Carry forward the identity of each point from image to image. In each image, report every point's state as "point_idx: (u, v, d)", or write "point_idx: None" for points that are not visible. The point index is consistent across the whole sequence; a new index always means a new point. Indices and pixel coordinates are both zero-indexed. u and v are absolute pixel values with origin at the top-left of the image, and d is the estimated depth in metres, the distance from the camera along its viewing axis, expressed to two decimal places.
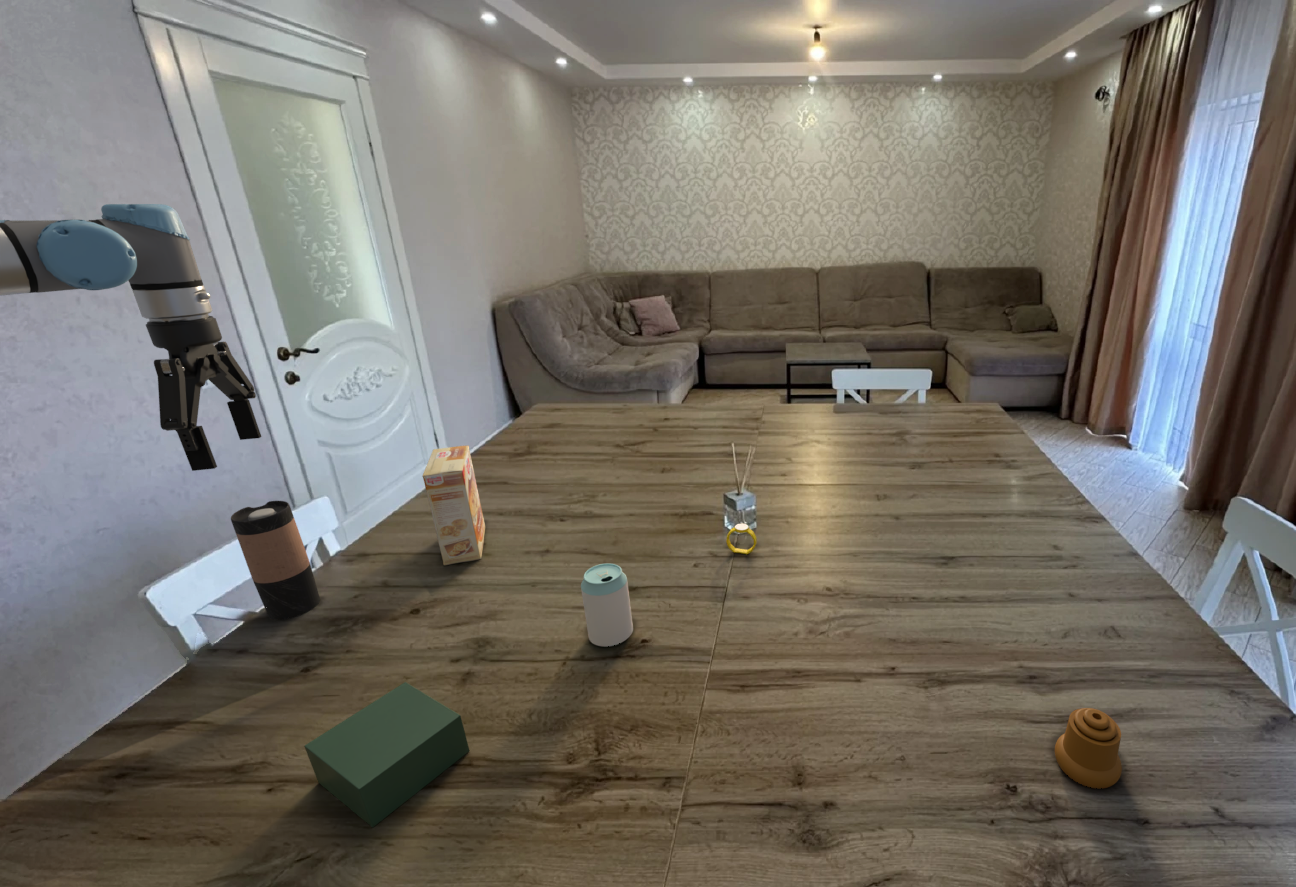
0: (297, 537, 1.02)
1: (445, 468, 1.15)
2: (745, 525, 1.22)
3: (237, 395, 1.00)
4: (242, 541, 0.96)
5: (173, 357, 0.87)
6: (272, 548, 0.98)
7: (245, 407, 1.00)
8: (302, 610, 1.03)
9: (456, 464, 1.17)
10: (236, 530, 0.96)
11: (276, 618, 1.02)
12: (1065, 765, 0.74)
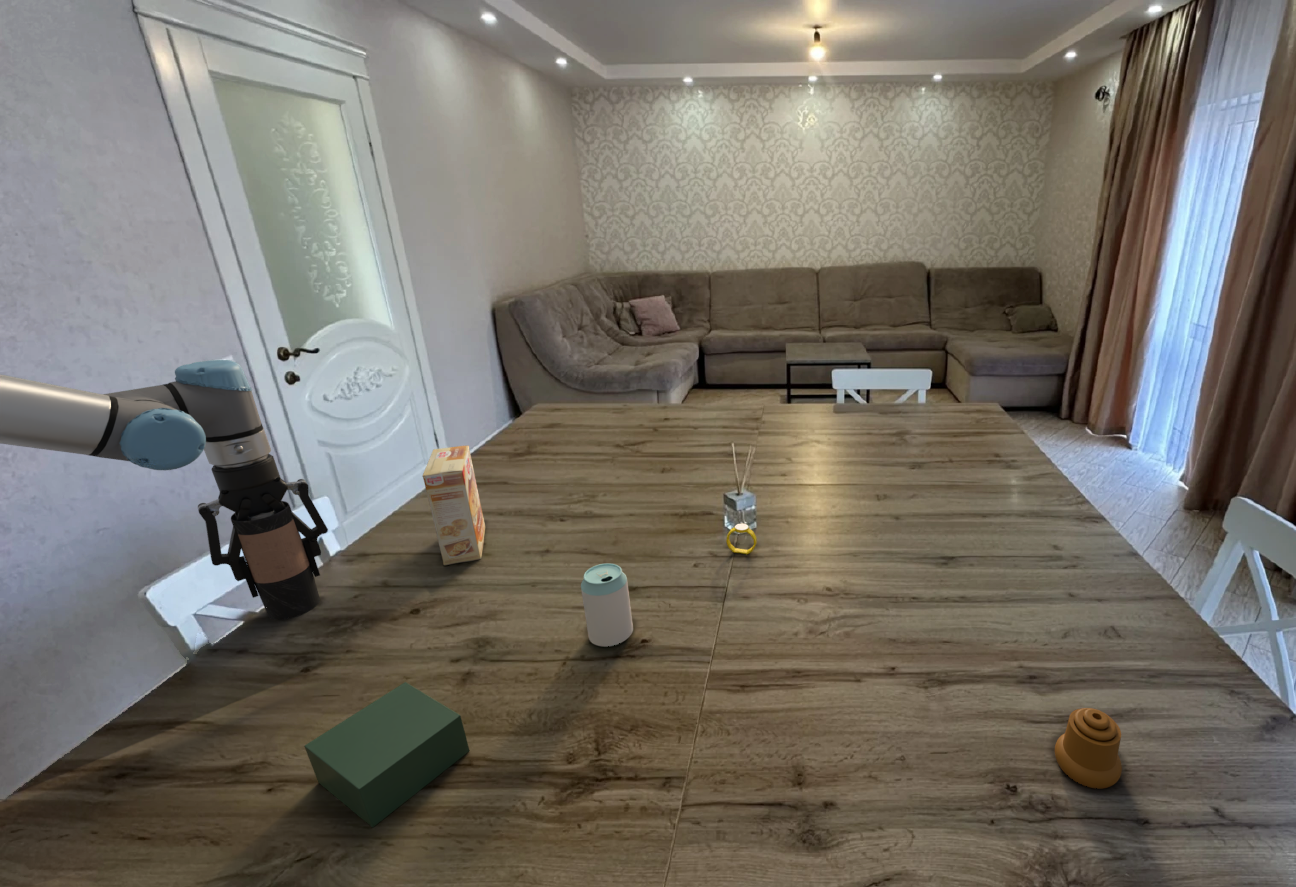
0: (297, 537, 1.02)
1: (445, 468, 1.15)
2: (745, 525, 1.22)
3: None
4: (242, 541, 0.96)
5: None
6: (272, 548, 0.98)
7: (305, 548, 1.03)
8: (302, 610, 1.03)
9: (456, 464, 1.17)
10: (236, 530, 0.96)
11: (276, 618, 1.02)
12: (1065, 765, 0.74)
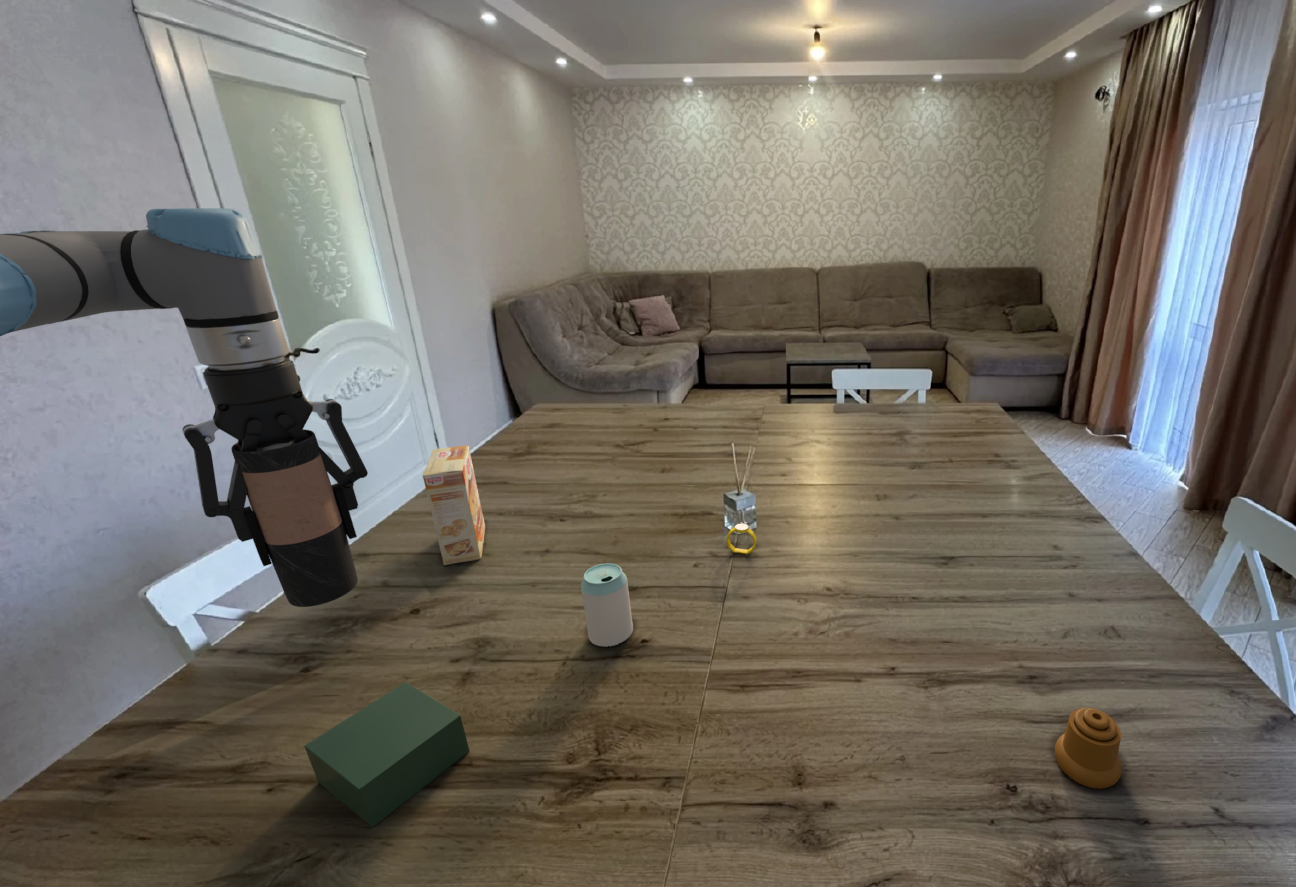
0: (326, 480, 0.71)
1: (445, 468, 1.15)
2: (745, 525, 1.22)
3: None
4: (248, 482, 0.66)
5: None
6: (292, 494, 0.68)
7: (336, 498, 0.73)
8: (333, 585, 0.73)
9: (456, 464, 1.17)
10: (240, 466, 0.66)
11: (297, 596, 0.72)
12: (1065, 765, 0.74)
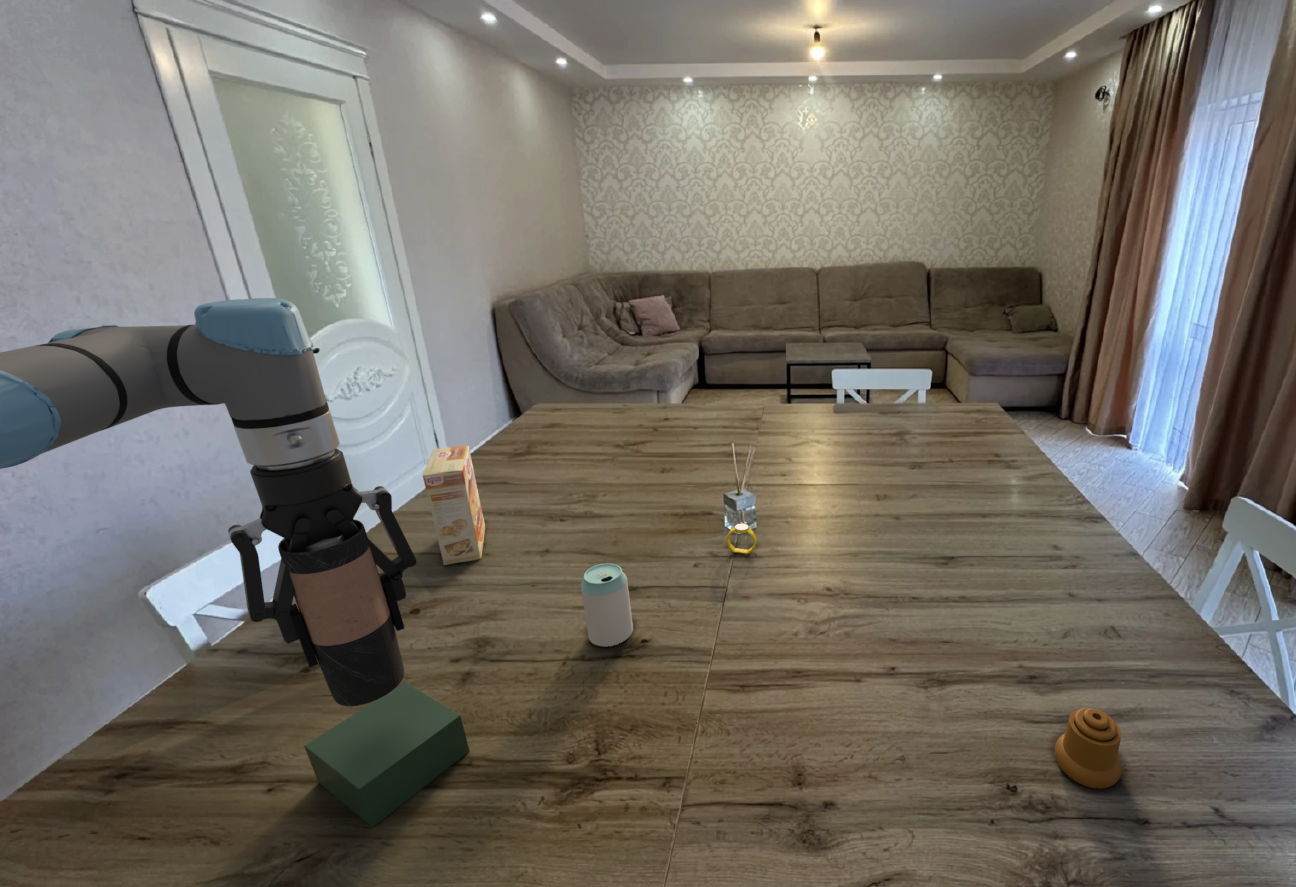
0: (375, 573, 0.67)
1: (445, 468, 1.15)
2: (745, 525, 1.22)
3: None
4: (295, 583, 0.62)
5: (263, 515, 0.61)
6: (341, 593, 0.64)
7: (384, 590, 0.69)
8: (381, 682, 0.69)
9: (456, 464, 1.17)
10: (287, 566, 0.62)
11: (343, 696, 0.68)
12: (1065, 765, 0.74)
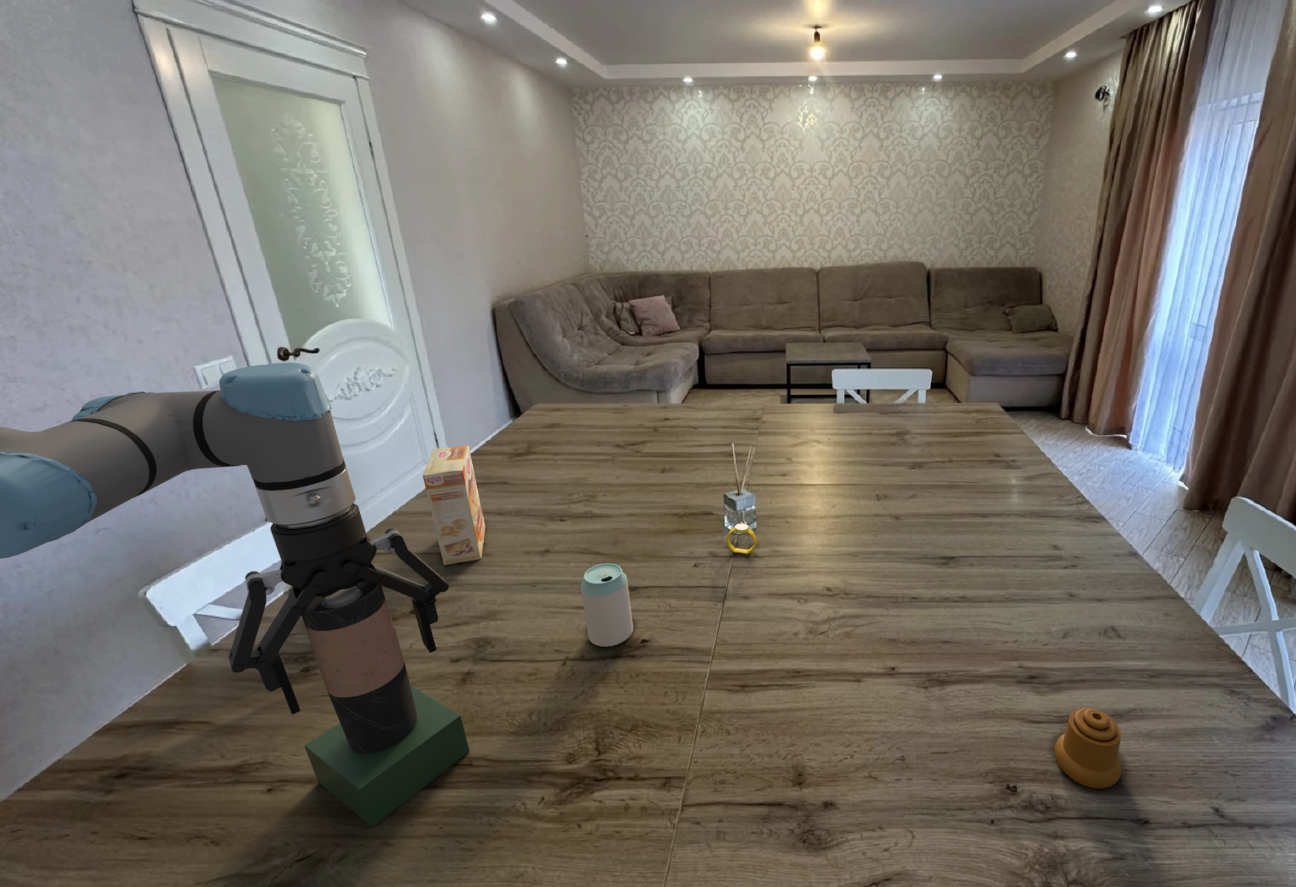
0: (390, 626, 0.70)
1: (445, 468, 1.15)
2: (745, 525, 1.22)
3: None
4: (315, 639, 0.65)
5: None
6: (358, 648, 0.66)
7: (418, 614, 0.73)
8: (395, 730, 0.71)
9: (456, 464, 1.17)
10: (307, 623, 0.64)
11: (359, 744, 0.70)
12: (1065, 765, 0.74)
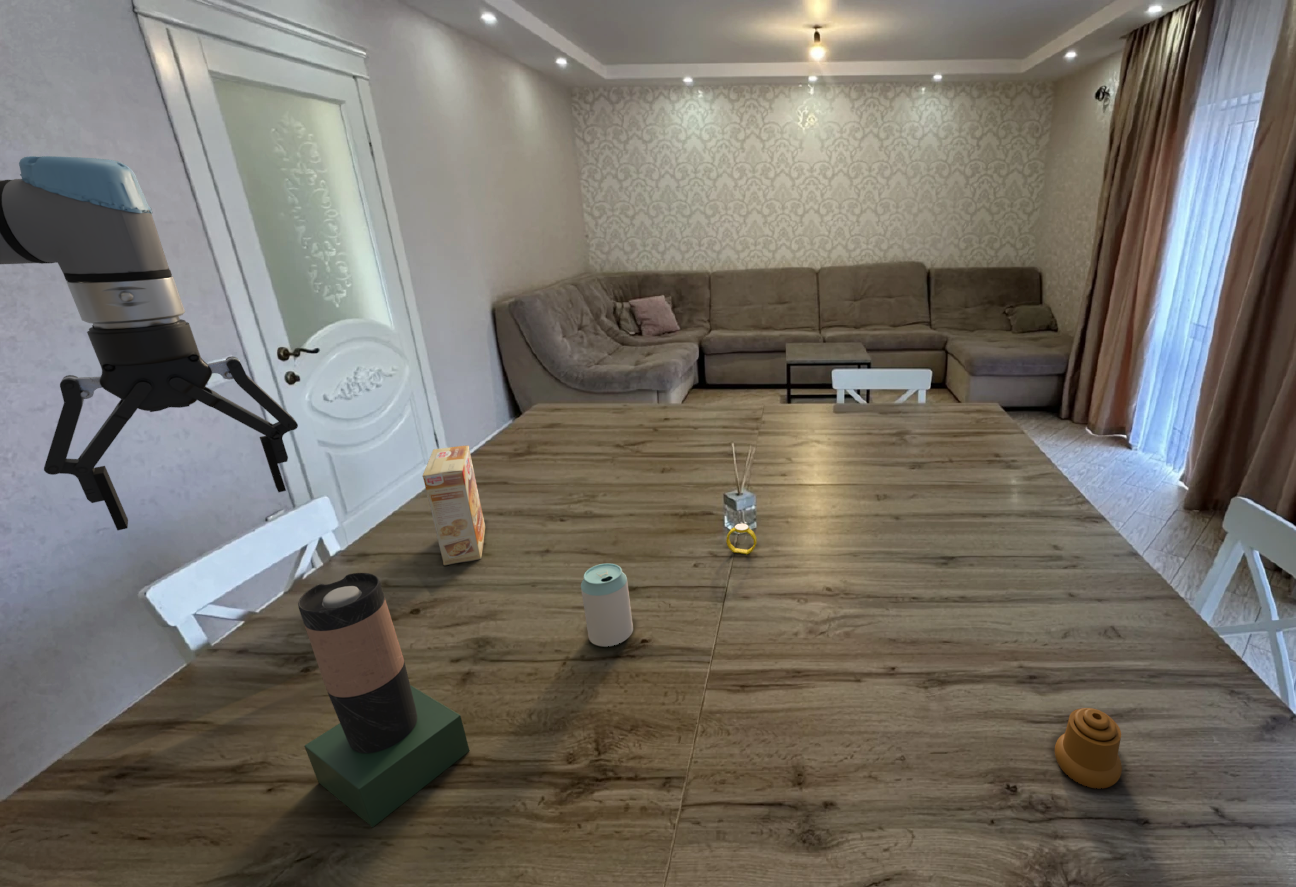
0: (390, 625, 0.70)
1: (445, 468, 1.15)
2: (745, 525, 1.22)
3: None
4: (314, 639, 0.65)
5: None
6: (358, 648, 0.66)
7: (264, 449, 0.72)
8: (395, 730, 0.71)
9: (456, 464, 1.17)
10: (307, 623, 0.64)
11: (359, 744, 0.70)
12: (1065, 765, 0.74)
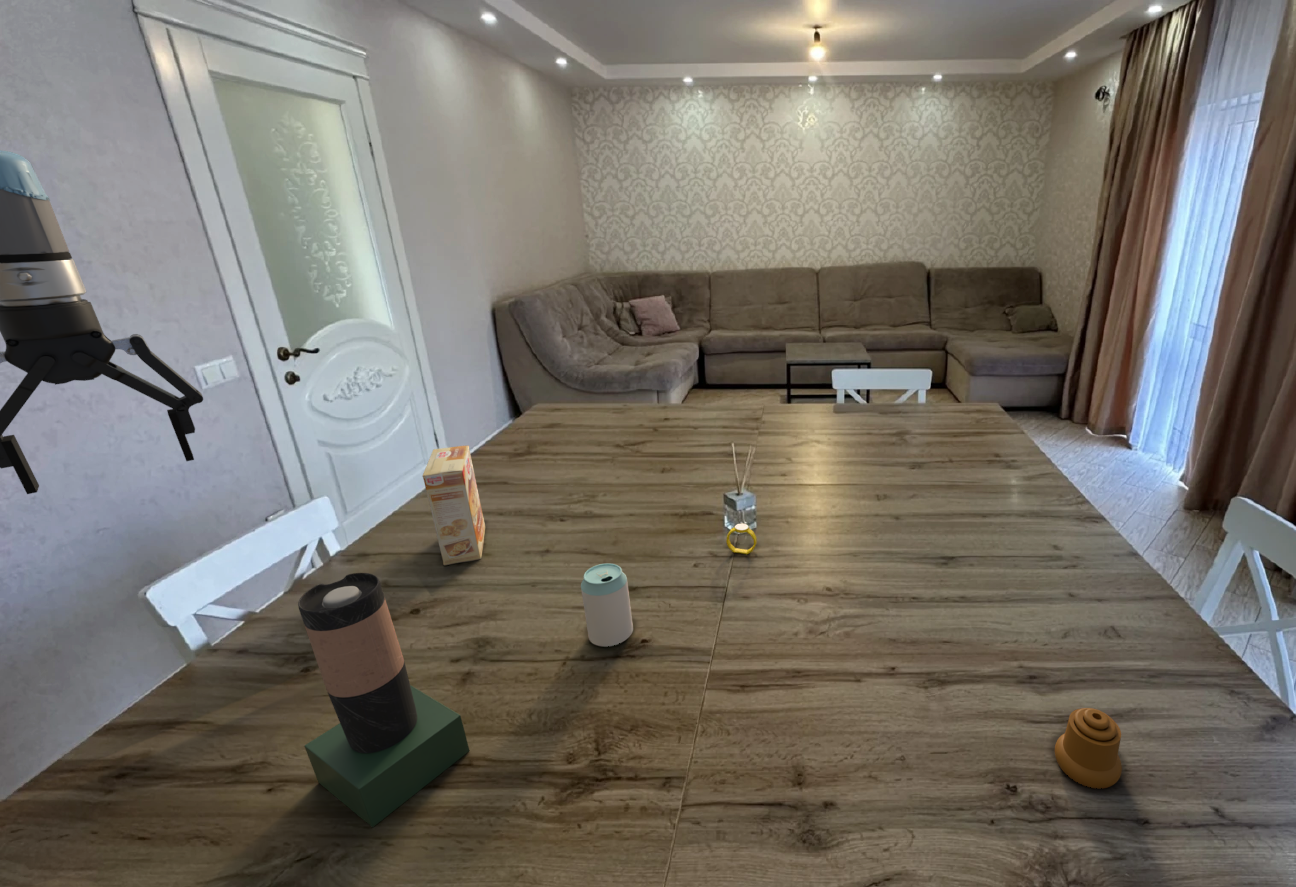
0: (390, 625, 0.70)
1: (445, 468, 1.15)
2: (745, 525, 1.22)
3: None
4: (314, 639, 0.65)
5: None
6: (358, 648, 0.66)
7: None
8: (395, 730, 0.71)
9: (456, 464, 1.17)
10: (307, 623, 0.64)
11: (359, 744, 0.70)
12: (1065, 765, 0.74)
